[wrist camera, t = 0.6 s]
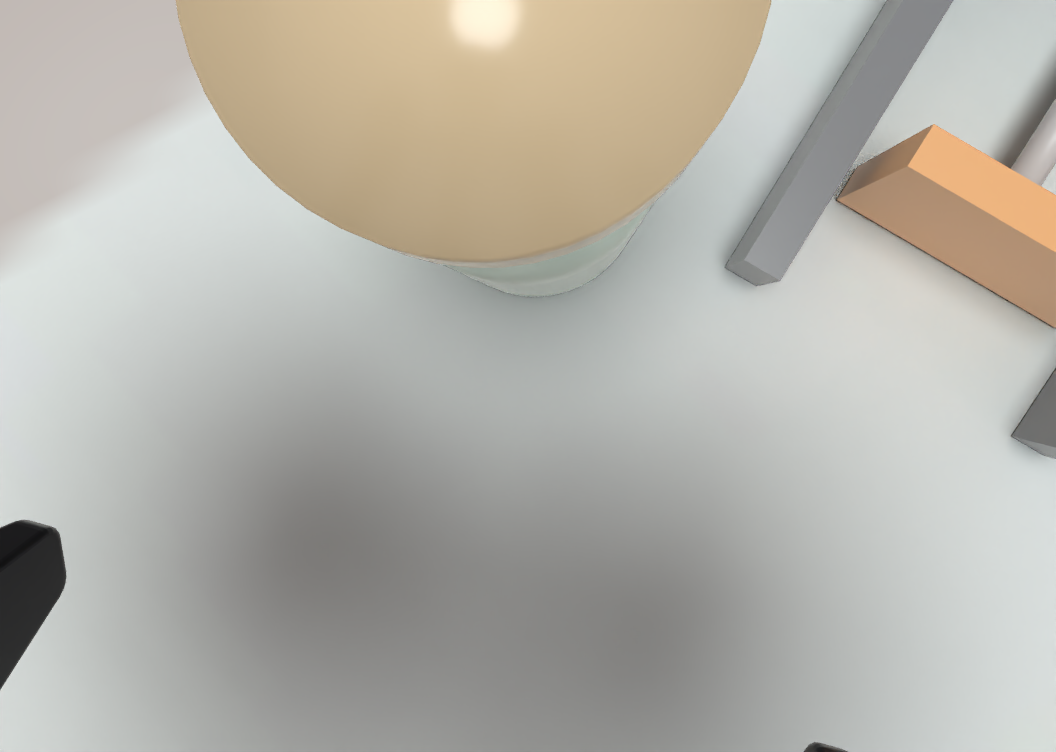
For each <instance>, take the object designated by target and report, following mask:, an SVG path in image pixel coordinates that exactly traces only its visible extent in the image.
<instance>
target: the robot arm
mask: <svg viewBox="0 0 1056 752" xmlns="http://www.w3.org/2000/svg"><path fill="white" fill-rule="evenodd" d="M65 583H66V568H65V562H64V556H63V550H62V544H61V538H60V534H59V532H58V531H57V530H56V529H55V528H53V527H51V526H47V525H44V524H40V523H37V522H33V521H29V520H20V521H15V522H13V523H10V524H8V525H5V526H3V527H1V528H0V690H1V688H2V686H3V685H4V683H5V682H6V680H7V679H8V677H9V675H10V674H11V672H12V671H13V669H14V668H15V666H16V664H17V663H18V661H19V660H20V658H21V657H22V655H23V653H24V652H25V650H26V649H27V647H28V646H29V644H30V643H31V641H32V639H33V638H34V636H35V635H36V633H37V632H38V630H39V628H40V627H41V625H42V624H43V622H44V621H45V619H46V617H47V616H48V614H49V613H50V611H51V610H52V608H53V606H54V605H55V603H56V602H57V600H58V599H59V597H60V595H61V593H62V591H63V589H64V586H65ZM804 752H847V751H845V750H843V749H840V748H836V747H833V746H829V745H826V744H822V743H818V742H814V743H812V744H810V745H808V747H807V748H806V749H805V751H804Z"/></svg>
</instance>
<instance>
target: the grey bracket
mask: <svg viewBox="0 0 1056 752" xmlns="http://www.w3.org/2000/svg"><path fill="white" fill-rule="evenodd" d="M952 2H953V0H887V2H886V3H885V5H884V6H883V8H882V10H881V11H880V13H879V15H878V16H877V18H876V20H875V21H874V23H873V25H872V26H871V28H870V29H869V31H868V33H867V34H866V36H865V38H864V39H863V41H862V43H861V44H860V46H859V47H858V49H857V51H856V52H855V54H854V56H853V57H852V59H851V61H850V62H849V64H848V66H847V67H846V69H845V70H844V72H843V74H842V75H841V77H840V79H839V80H838V82H837V84H836V85H835V87H834V89H833V90H832V92H831V93H830V95H829V97H828V98H827V100H826V102H825V103H824V105H823V107H822V108H821V110H820V112H819V113H818V115H817V116H816V118H815V120H814V121H813V123H812V125H811V126H810V128H809V130H808V131H807V133H806V135H805V136H804V138H803V139H802V141H801V143H800V144H799V146H798V148H797V149H796V151H795V153H794V154H793V156H792V158H791V159H790V161H789V162H788V164H787V166H786V167H785V169H784V171H783V172H782V174H781V176H780V177H779V179H778V180H777V182H776V184H775V185H774V187H773V189H772V190H771V192H770V194H769V195H768V197H767V199H766V200H765V202H764V203H763V205H762V207H761V208H760V210H759V212H758V213H757V215H756V217H755V218H754V220H753V222H752V223H751V225H750V226H749V228H748V230H747V231H746V233H745V235H744V236H743V238H742V240H741V241H740V243H739V245H738V246H737V248H736V249H735V251H734V253H733V254H732V256H731V258H730V259H729V261H728V263H727V264H726V266H725V268H726V269H728V270H730V271H732V272H733V273H735V274H737V275H738V276H740V277H742V278H743V279H745V280H747V281H749V282H750V283H752V284H754V285H755V286H759V285H763V284H768V283H773V282H777V281H780V280H781V279H782V277H783V275H784V274H785V272H786V271H787V269H788V267H789V266H790V264H791V262H792V261H793V259H794V258H795V256H796V254H797V253H798V251H799V250H800V248H801V246H802V245H803V243H804V241H805V240H806V238H807V237H808V235H809V233H810V232H811V230H812V228H813V227H814V225H815V224H816V222H817V220H818V219H819V217H820V215H821V214H822V212H823V211H824V209H825V207H826V206H827V204H828V203H829V201H830V199H831V198H832V196H833V194H834V193H835V191H836V190H837V188H838V186H839V185H840V183H841V181H842V180H843V178H844V177H845V175H846V173H847V172H848V170H849V168H850V167H851V165H852V164H853V162H854V160H855V159H856V157H857V156H858V154H859V152H860V151H861V149H862V147H863V146H864V144H865V143H866V141H867V139H868V138H869V136H870V134H871V133H872V131H873V130H874V128H875V126H876V125H877V123H878V121H879V120H880V118H881V117H882V115H883V113H884V112H885V110H886V109H887V107H888V105H889V104H890V102H891V100H892V99H893V97H894V96H895V94H896V92H897V91H898V89H899V87H900V86H901V84H902V83H903V81H904V79H905V78H906V76H907V74H908V73H909V71H910V70H911V68H912V66H913V65H914V63H915V62H916V60H917V58H918V57H919V55H920V53H921V52H922V50H923V49H924V47H925V45H926V44H927V42H928V40H929V39H930V37H931V36H932V34H933V32H934V31H935V29H936V27H937V26H938V24H939V23H940V21H941V19H942V18H943V16H944V14H945V13H946V11H947V10H948V8H949V6H950V5H951V3H952ZM1012 437H1013V438H1015V439H1017V440H1018V441H1020V442H1022V443H1024V444H1025V445H1027V446H1029V447H1030V448H1032V449H1034V450H1035V451H1037V452H1039V453H1041V454H1042V455H1044V456H1048V457H1052V458H1055V459H1056V369H1055V371H1054V372H1053V374H1052V375H1051V377H1050V379H1049V380H1048V382H1047V383H1046V385H1045V386H1044V388H1043V389H1042V391H1041V392H1040V394H1039V395H1038V397H1037V398H1036V400H1035V401H1034V403H1033V404H1032V406H1031V407H1030V409H1029V410H1028V412H1027V413H1026V415H1025V417H1024V418H1023V420H1022V421H1021V423H1020V424H1019V426H1018V427H1017V429H1016V430H1015V432H1014V433H1013V435H1012Z"/></svg>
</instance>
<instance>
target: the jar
mask: <svg viewBox="0 0 1056 752" xmlns="http://www.w3.org/2000/svg"><path fill="white" fill-rule="evenodd" d="M176 5H177V11H178V18H179V22H180V25H181V29H182V32H183V36H184V39H185V43H186V46H187V50H188V53H189V57H190V59H191V62H192V64H193V66H194V69H195V71H196V73H197V76H198V78H199V80H200V83H201V85H202V87H203V90H204V92H205V94H206V96H207V97H208V99H209V101H210V103H211V104H212V106H213V108H214V109H215V111H216V113H217V115H218V116H219V118H220V120H221V121H222V123H223V125H224V126H225V128H226V129H227V131H228V132H229V133H230V134H231V136H232V137H233V138H234V140H235V141H236V142H237V143H238V145H239V146H240V147H241V149H242V150H243V151H244V153H245V154H246V155H247V156H248V158H249V159H250V160H251V161H252V162H253V163H254V164H255V165H256V166H257V167H258V168H259V169H260V170H261V171H262V172H263V173H264V174H265V175H266V176H267V177H268V178H269V179H270V180H271V181H272V182H273V183H274V184H275V185H276V186H278V187H279V188H280V189H282V190H283V191H284V192H285V193H287V194H288V195H289V196H291V197H292V198H293V199H295V200H296V201H297V202H299V203H300V204H301V205H302V206H304V207H305V208H306V209H308V210H310V211H311V212H313V213H315V214H317V215H318V216H320V217H322V218H324V219H325V220H327V221H329V222H330V223H332V224H334V225H336V226H337V227H339V228H341V229H344V230H346V231H348V232H351V233H353V234H356V235H358V236H360V237H363V238H365V239H368V240H370V241H372V242H375V243H377V244H380V245H382V246H385V247H387V248H389V249H392V250H394V251H397V252H399V253H402V254H404V255H406V256H410V257H414V258H418V259H421V260H425V261H429V262H433V263H437V264H442V265H445V266H447V267H449V268H451V269H453V270H455V271H458V272H460V273H462V274H464V275H466V276H468V277H471V278H473V279H475V280H477V281H479V282H481V283H484V284H486V285H488V286H490V287H492V288H495V289H497V290H500V291H502V292H506V293H510V294H513V295H519V296H527V297H544V296H551V295H557V294H561V293H565V292H568V291H571V290H573V289H576V288H578V287H581V286H583V285H584V284H586V283H588V282H590V281H591V280H593V279H594V278H596V277H597V276H598V275H600V274H601V273H602V272H604V271H605V270H606V269H607V268H608V267H609V266H610V265H611V264H612V263H613V262H614V261H615V260H616V258H617V257H618V256H619V254H620V253H621V252H622V250H623V249H624V248H625V246H626V245H627V243H628V242H629V240H630V239H631V237H632V236H633V234H634V233H635V231H636V230H637V228H638V227H639V225H640V224H641V222H642V221H643V219H644V218H645V216H646V215H647V213H648V212H649V210H650V208H651V207H652V205H653V204H654V202H655V201H656V200H657V199H658V198H659V197H660V196H661V195H662V194H663V193H664V192H665V191H666V190H667V189H668V188H669V187H670V186H671V185H672V184H673V183H674V182H675V181H676V180H677V179H678V178H679V177H680V175H681V174H682V173H683V171H684V170H685V169H686V167H687V166H688V165H689V164H690V162H691V161H692V160H693V158H694V157H695V156H696V154H697V153H698V152H699V150H700V149H701V148H702V146H703V145H704V143H705V142H706V141H707V139H708V138H709V137H710V135H711V134H712V132H713V131H714V130H715V128H716V127H717V126H718V124H719V123H720V121H721V120H722V119H723V117H724V115H725V113H726V112H727V110H728V108H729V107H730V105H731V103H732V101H733V100H734V98H735V96H736V95H737V93H738V91H739V89H740V88H741V86H742V84H743V82H744V80H745V78H746V75H747V73H748V71H749V68H750V66H751V63H752V61H753V59H754V56H755V54H756V52H757V49H758V47H759V44H760V41H761V37H762V34H763V30H764V27H765V23H766V20H767V16H768V12H769V9H770V5H771V0H176Z"/></svg>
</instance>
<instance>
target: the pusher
mask: <svg viewBox="0 0 1056 752" xmlns="http://www.w3.org/2000/svg"><path fill="white" fill-rule="evenodd" d="M1055 163H1056V98H1055V100H1054V102H1053V103H1052V105H1051V106H1050V108H1049V109H1048V111H1047V113H1046V114H1045V116H1044V117H1043V119H1042V120H1041V122H1040V124H1039V125H1038V127H1037V128H1036V130H1035V131H1034V133H1033V135H1032V136H1031V138H1030V139H1029V141H1028V142H1027V144H1026V146H1025V147H1024V149H1023V150H1022V152H1021V153H1020V155H1019V157H1018V158H1017V160H1016V161H1015V163H1014V164H1013V166H1012V168H1011V169H1010V168H1008V167H1007V166H1005V165H1003V164H1001V163H1000V162H998V161H996V160H995V159H993V158H991V157H989V156H988V155H986V154H984V153H983V152H981V151H979V150H977V149H976V148H974V147H972V146H971V145H969V144H967V143H965V142H964V141H962V140H960V139H959V138H957V137H955V136H953V135H952V134H950V133H948V132H947V131H945V130H943V129H941V128H940V127H938V126H936V125H935V124H933V125H931V126H930V127H928V128H926V129H924V130H922V131H921V132H919V133H917V134H915V135H913V136H912V137H910V138H908V139H906V140H905V141H903V142H901V143H899V144H897V145H896V146H894V147H892V148H890V149H888V150H887V151H885V152H883V153H881V154H879V155H878V156H876V157H874V158H872V159H871V160H869V161H867V162H865V163H863V164H862V165H860V166H858V167H857V168H856V169H855V171H854V173H853V174H852V176H851V178H850V179H849V181H848V182H847V184H846V186H845V187H844V189H843V191H842V192H841V194H840V195H839V197H838V199H837V200H838V201H839V202H841V203H843V204H844V205H846V206H848V207H850V208H851V209H853V210H855V211H856V212H858V213H860V214H862V215H863V216H865V217H867V218H868V219H870V220H872V221H873V222H875V223H877V224H879V225H880V226H882V227H884V228H885V229H887V230H889V231H891V232H892V233H894V234H896V235H897V236H899V237H901V238H903V239H904V240H906V241H908V242H909V243H911V244H913V245H914V246H916V247H918V248H920V249H921V250H923V251H925V252H926V253H928V254H930V255H932V256H933V257H935V258H937V259H938V260H940V261H942V262H943V263H945V264H947V265H949V266H950V267H952V268H954V269H955V270H957V271H959V272H961V273H962V274H964V275H966V276H967V277H969V278H971V279H973V280H974V281H976V282H978V283H979V284H981V285H983V286H984V287H986V288H988V289H990V290H991V291H993V292H995V293H996V294H998V295H1000V296H1002V297H1003V298H1005V299H1007V300H1008V301H1010V302H1012V303H1013V304H1015V305H1017V306H1019V307H1020V308H1022V309H1024V310H1025V311H1027V312H1029V313H1031V314H1032V315H1034V316H1036V317H1037V318H1039V319H1041V320H1043V321H1044V322H1046V323H1048V324H1049V325H1051V326H1053V327H1054V328H1056V195H1055V194H1053V193H1051V192H1050V191H1048V190H1046V189H1044V188H1043V187H1041V185H1042V184H1043V182H1044V181H1045V179H1046V177H1047V176H1048V174H1049V173H1050V171H1051V170H1052V168H1053V167H1054V165H1055Z"/></svg>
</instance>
